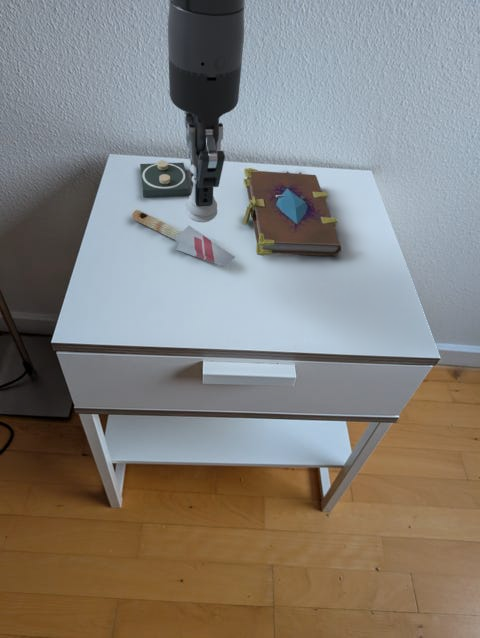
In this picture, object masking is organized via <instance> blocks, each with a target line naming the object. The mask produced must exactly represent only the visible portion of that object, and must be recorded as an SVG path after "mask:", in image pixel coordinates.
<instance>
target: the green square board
mask: <svg viewBox="0 0 480 638" xmlns="http://www.w3.org/2000/svg"><path fill="white" fill-rule="evenodd" d="M157 163H158V162H157ZM157 163H155V162H154V163H140V164H139V166H140V179H141V186H142V196H143V198H155V197H175V196H190V188H189V182H188V178H187V173H186V168H185V167H186V166H185V163H184V162H167V163H168V169H166V170H160V169H158V166H157ZM162 174H167V175H169V176H170V183H168V184H162V183H160V181H159V176H160V175H162Z"/></svg>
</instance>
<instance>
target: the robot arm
mask: <svg viewBox="0 0 480 638" xmlns="http://www.w3.org/2000/svg"><path fill="white" fill-rule="evenodd" d="M168 1H169V3H168V4H169V5H168V17H167V49H168V50H167V51H168V53H167V54H168V81H169V97H170V100H171V102H172V104H173V105H174V106H175V107H177V109H179V110H181V111H183V112H184V115H183V116H184V117H183V118H184V119H183V121H184V126H185V141H186V142H185V143H186V147H187V149H189V152H188V159H189V161H190V166H191V165H192V164H193V165H194V166H195V176H194V180H195V203H196V206H198V207H201V206H211V205H212V203H213V197H214V188H218V187H219V186H220V182H221V176H222V172H223V168H224V164H225V159H226V155H225V152H224V150H221V148H222V147H221V146H222V141H223V139H224V124H223V122H220V118H221V117H222V116H223V115H225V114H227V113H231V112H232V111H233V110H234V109H235V108H236V107H237V105H238V103H239V98H240V88H241V87H240V86H241V77H242V66H243V64H242V63H243V53H244V42H245V3H246V0H168ZM192 176H193V174H192V172H191V171H190V186H191V188H192V189H193V181H192Z"/></svg>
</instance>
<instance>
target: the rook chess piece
mask: <svg viewBox="0 0 480 638" xmlns="http://www.w3.org/2000/svg"><path fill="white" fill-rule="evenodd" d="M189 171H190V173H191V172H192V174H193V176H192V181H193V188H192V189H191V194H189V195H188V196H189V197H188V198H187V200H186V203H185V214H186V216H187V217H188V218H189V219H190V220H192V221H193V222H195V223H208V222H211V221H212V220H214V219H216V217H217V215H218V202H217V201H216V199H215V196H213V203H212V205H211V206H201V207H198V206H196V203H195V180H194V176H195V166H194V165H193V164H192V165H191V164H190V166H189Z"/></svg>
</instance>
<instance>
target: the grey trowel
mask: <svg viewBox="0 0 480 638" xmlns="http://www.w3.org/2000/svg"><path fill="white" fill-rule="evenodd" d="M131 216H132V220H133V221H136V222H138V223H140V224H142V225H144V226H146V227H148V228H150V229H152V230H154V231H156V232H159V233H161V234H163V235H165V236H166V237H169V238H170V239H173V240H174V241H175V242H176V244H177V247H176V249H175V250H176V251H178V252H181V253H184V254H187V255H190V256H192V257H195V258H199V259H202V260H204V261H207V262H210V263H213V264H216V265H219V266H221V267H224V268H227V267H228V266H229V265H230V264H231V263H232V262H233V261H234V259H235V258H236V256H234V255H233V254H231V253H230V252H228V251H227V250H226V249H224V248H223V247H222V246H220V245H218V243H215V241H213V240H212V239H211V238H208V237H207V236H206V235H204V234H203V233H201V232H199V231H198V230H197V229H195V228H194V227H192V226H191V225H187V226H186V227H185V228H184V229H183V230H180V229H178V228H177V227H174V226H172V225H169V224H167V223H166V222H164V221H162V220H159V219H157V218H155V217H153V216H152V215H149V214H147V213H145V212H144V211H141V210H139V209H135V210H134V211H133V212H132V215H131Z"/></svg>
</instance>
